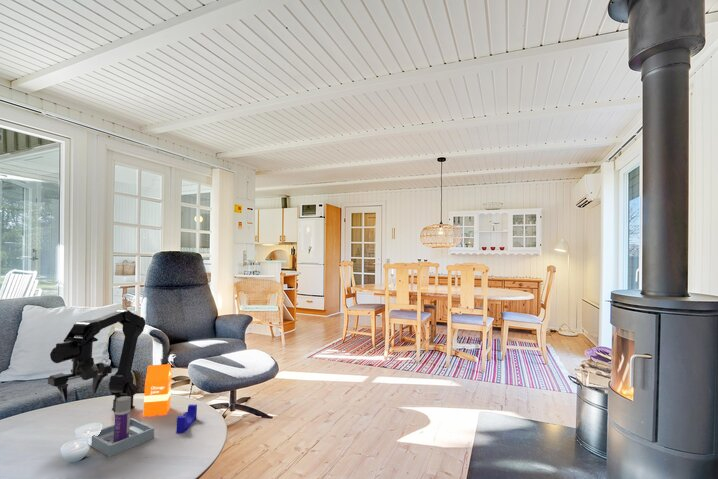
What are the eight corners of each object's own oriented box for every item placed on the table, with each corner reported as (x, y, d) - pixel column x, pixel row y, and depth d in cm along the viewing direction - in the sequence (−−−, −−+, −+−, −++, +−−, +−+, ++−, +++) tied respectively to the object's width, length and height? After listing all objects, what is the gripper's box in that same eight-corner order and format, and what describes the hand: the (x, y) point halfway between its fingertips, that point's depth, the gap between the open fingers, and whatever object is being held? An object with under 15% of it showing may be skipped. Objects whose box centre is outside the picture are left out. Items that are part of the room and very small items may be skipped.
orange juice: (147, 409, 156) (150, 362, 157) (170, 407, 159) (172, 361, 160) (142, 417, 149) (145, 368, 150) (166, 414, 152) (169, 366, 153)
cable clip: (185, 419, 148) (185, 404, 149) (196, 419, 149) (197, 404, 149) (172, 433, 136) (172, 417, 137) (184, 433, 137) (185, 417, 137)
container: (111, 444, 127) (113, 401, 128) (116, 438, 132) (118, 396, 132) (126, 443, 129) (128, 400, 129) (130, 436, 133) (132, 395, 134)
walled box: (131, 427, 140) (132, 418, 140) (153, 437, 133) (154, 428, 133) (87, 444, 127) (87, 433, 127) (109, 456, 120) (109, 446, 120)
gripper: (62, 365, 124) (59, 411, 124) (120, 353, 140) (118, 394, 140) (48, 360, 130) (45, 404, 129) (105, 349, 146) (103, 388, 145)
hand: (80, 397), depth 136 cm, fingers open, 9 cm apart
